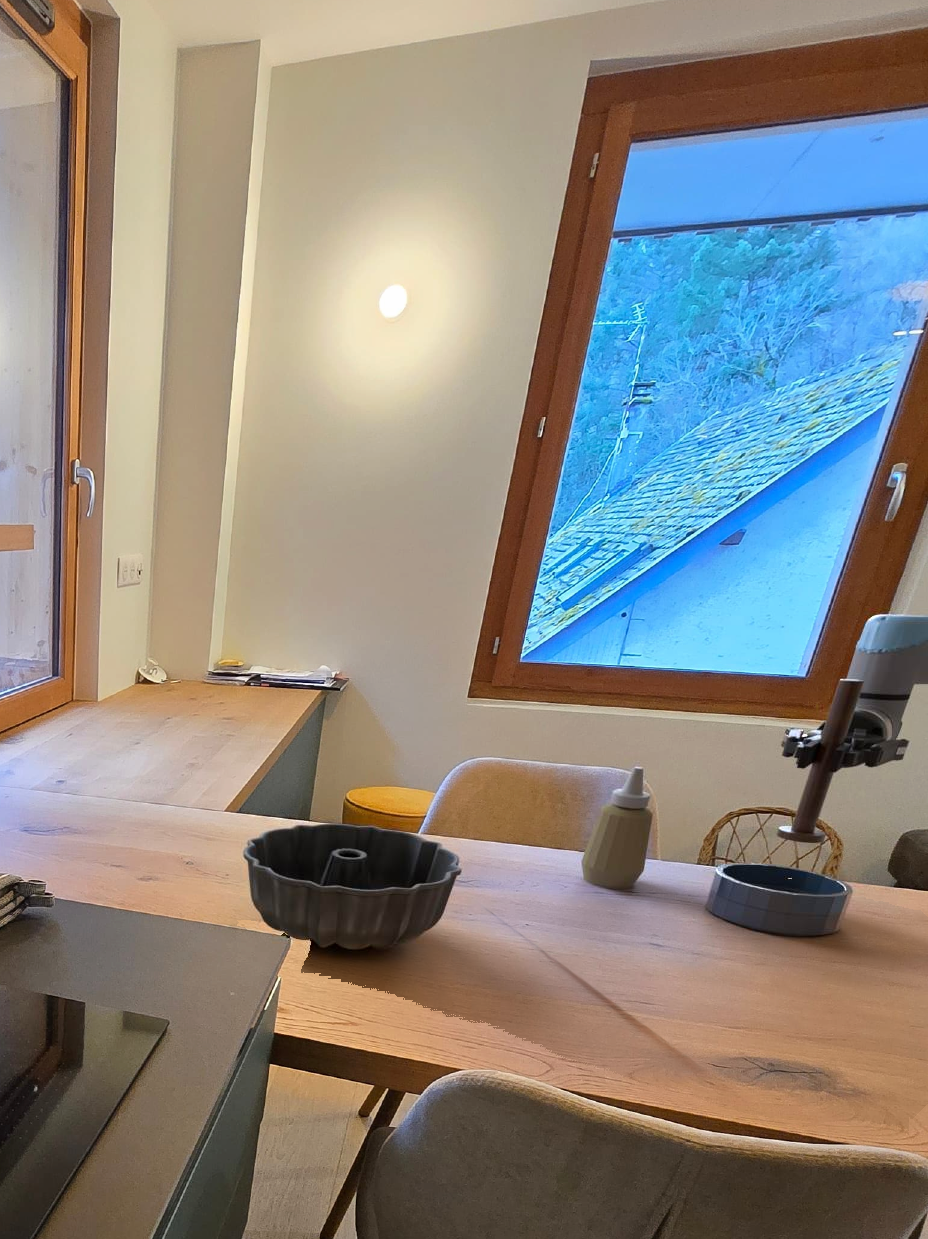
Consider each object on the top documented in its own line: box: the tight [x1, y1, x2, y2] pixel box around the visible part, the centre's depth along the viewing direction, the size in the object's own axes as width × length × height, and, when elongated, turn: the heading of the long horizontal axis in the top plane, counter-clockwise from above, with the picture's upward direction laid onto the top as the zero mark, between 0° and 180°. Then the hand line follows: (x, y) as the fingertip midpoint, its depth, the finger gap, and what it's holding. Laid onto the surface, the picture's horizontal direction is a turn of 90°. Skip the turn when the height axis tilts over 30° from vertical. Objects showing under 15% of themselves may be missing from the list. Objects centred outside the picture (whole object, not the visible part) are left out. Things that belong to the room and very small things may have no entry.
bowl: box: [704, 862, 854, 938], centre depth 128 cm, size 15×15×6 cm
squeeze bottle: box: [581, 766, 654, 890], centre depth 137 cm, size 8×8×18 cm
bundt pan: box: [242, 823, 463, 951], centre depth 124 cm, size 26×26×10 cm
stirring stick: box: [776, 678, 865, 844], centre depth 121 cm, size 5×5×20 cm
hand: (819, 759), depth 117 cm, fingers closed on stirring stick, 2 cm apart
